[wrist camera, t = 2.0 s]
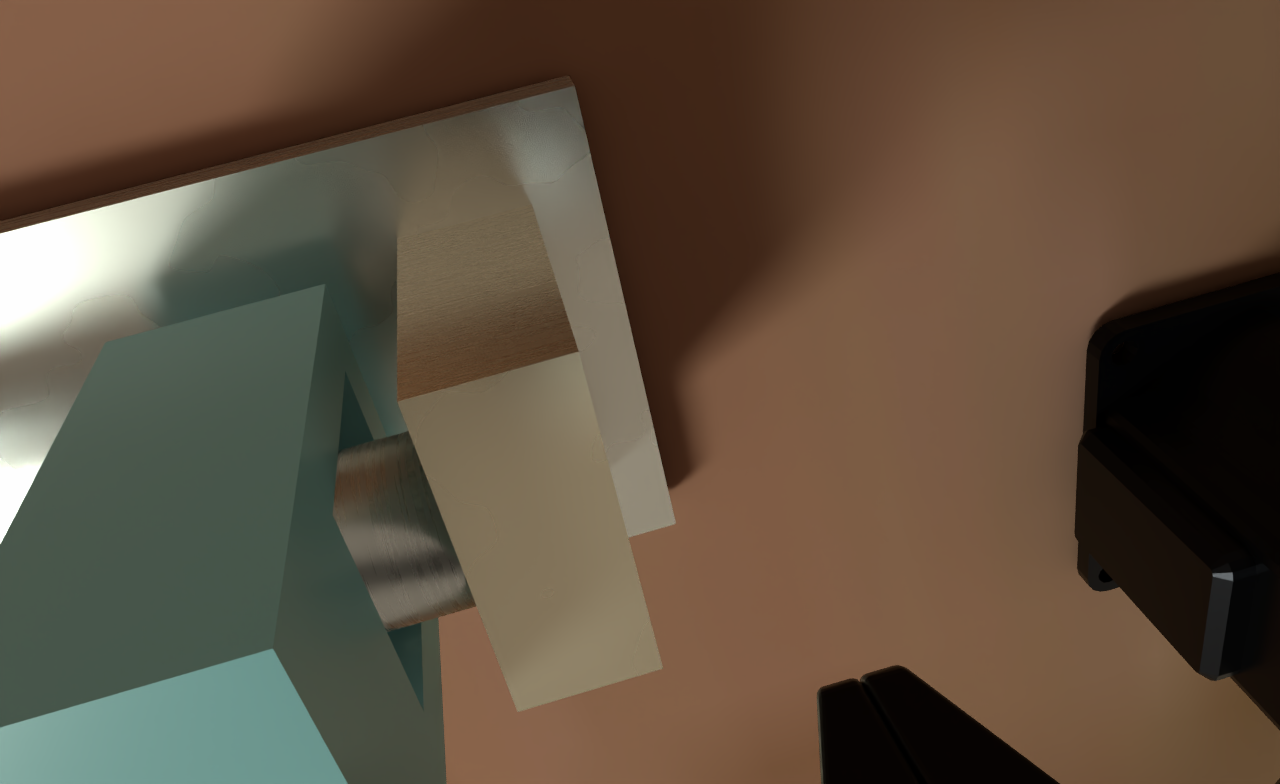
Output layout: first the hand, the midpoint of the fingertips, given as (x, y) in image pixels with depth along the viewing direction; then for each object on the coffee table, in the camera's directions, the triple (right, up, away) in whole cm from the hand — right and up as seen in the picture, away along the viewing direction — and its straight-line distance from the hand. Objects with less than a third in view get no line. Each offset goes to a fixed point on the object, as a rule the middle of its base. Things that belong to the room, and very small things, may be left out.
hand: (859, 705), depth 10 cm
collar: (-7, +2, +6) cm, 9 cm away
